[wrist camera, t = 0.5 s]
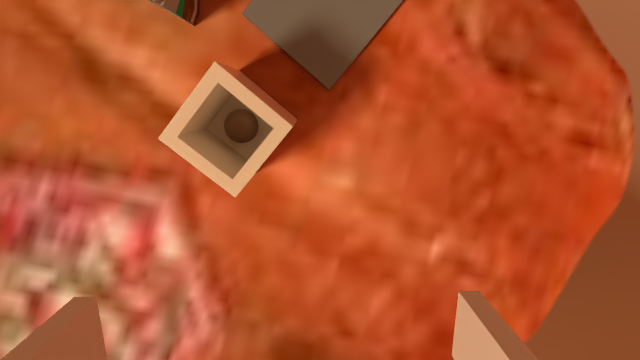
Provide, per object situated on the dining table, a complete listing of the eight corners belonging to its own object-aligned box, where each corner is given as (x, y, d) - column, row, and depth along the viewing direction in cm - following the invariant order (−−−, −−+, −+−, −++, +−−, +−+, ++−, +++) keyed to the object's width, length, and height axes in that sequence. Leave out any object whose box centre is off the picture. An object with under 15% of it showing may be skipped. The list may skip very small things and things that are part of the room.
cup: (194, 128, 33) (157, 138, 25) (239, 70, 32) (214, 61, 24) (253, 174, 34) (235, 197, 26) (297, 119, 33) (293, 126, 25)
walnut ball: (222, 126, 32) (213, 129, 29) (241, 101, 32) (234, 102, 29) (247, 147, 33) (241, 152, 30) (267, 122, 32) (262, 125, 29)
